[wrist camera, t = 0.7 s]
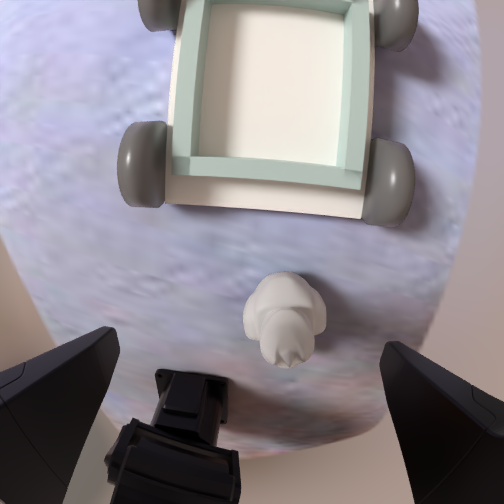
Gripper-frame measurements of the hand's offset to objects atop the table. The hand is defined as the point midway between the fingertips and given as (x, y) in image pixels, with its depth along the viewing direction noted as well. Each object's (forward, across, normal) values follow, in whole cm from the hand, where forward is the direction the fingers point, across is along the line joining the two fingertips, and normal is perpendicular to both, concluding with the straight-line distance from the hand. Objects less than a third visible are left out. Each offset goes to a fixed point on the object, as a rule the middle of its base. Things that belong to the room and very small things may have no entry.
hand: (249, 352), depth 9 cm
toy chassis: (+11, -1, -11) cm, 15 cm away
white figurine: (+12, -2, +4) cm, 13 cm away
